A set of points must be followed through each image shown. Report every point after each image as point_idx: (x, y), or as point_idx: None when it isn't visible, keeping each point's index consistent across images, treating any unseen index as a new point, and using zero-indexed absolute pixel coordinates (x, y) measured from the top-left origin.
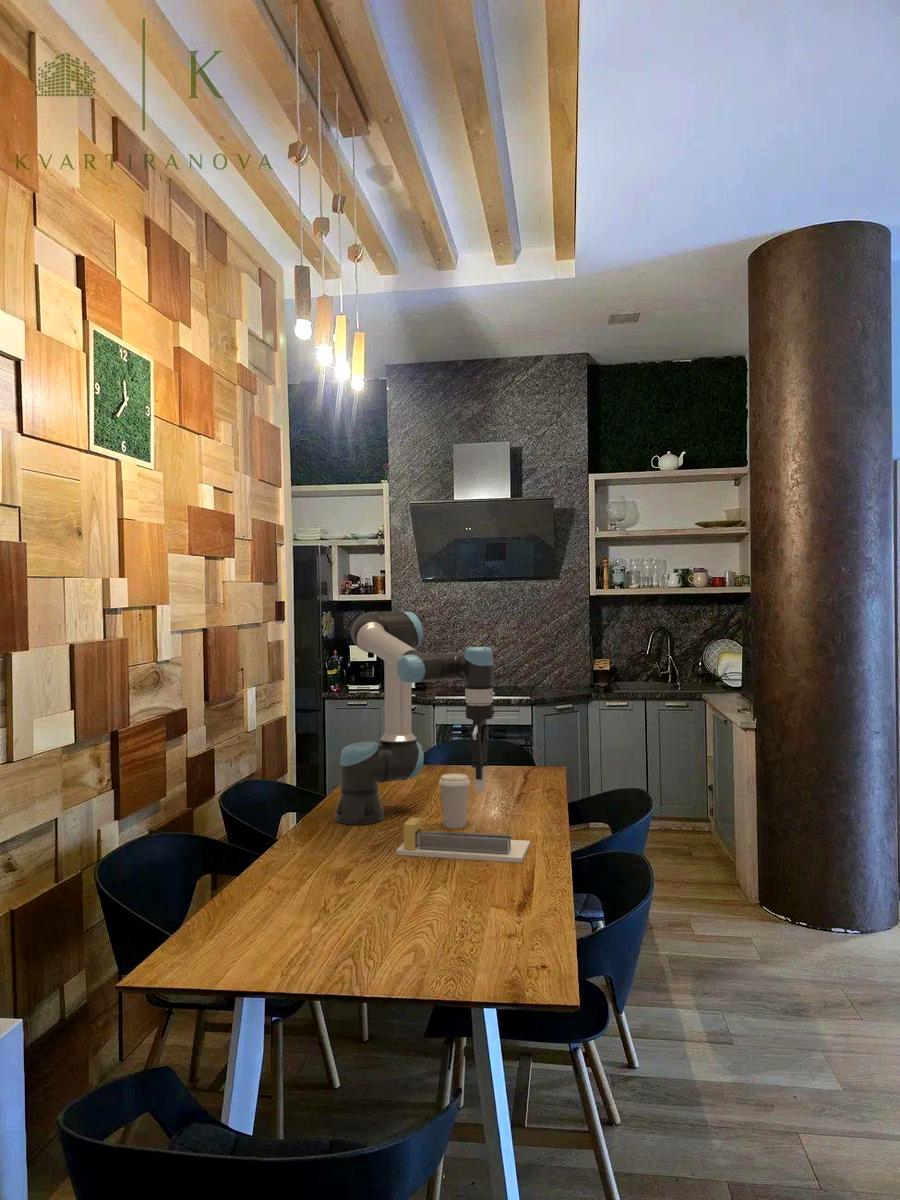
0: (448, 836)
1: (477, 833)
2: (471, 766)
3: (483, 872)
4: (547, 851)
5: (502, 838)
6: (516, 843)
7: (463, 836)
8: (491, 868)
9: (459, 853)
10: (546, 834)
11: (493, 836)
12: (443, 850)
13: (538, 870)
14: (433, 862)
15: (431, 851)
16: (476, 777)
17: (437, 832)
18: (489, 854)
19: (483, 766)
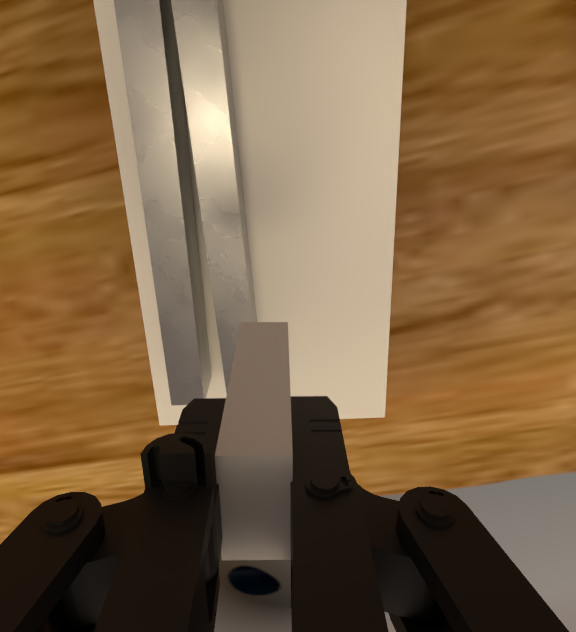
0: (136, 119)
1: (238, 257)
2: (153, 444)
3: (3, 315)
4: None
5: (189, 380)
6: (338, 377)
7: (163, 201)
8: (60, 332)
9: (132, 183)
10: (533, 436)
11: (218, 336)
12: None
13: (102, 472)
14: (34, 75)
15: (114, 30)
16: (182, 418)
17: (194, 25)
18: None
19: (282, 544)
